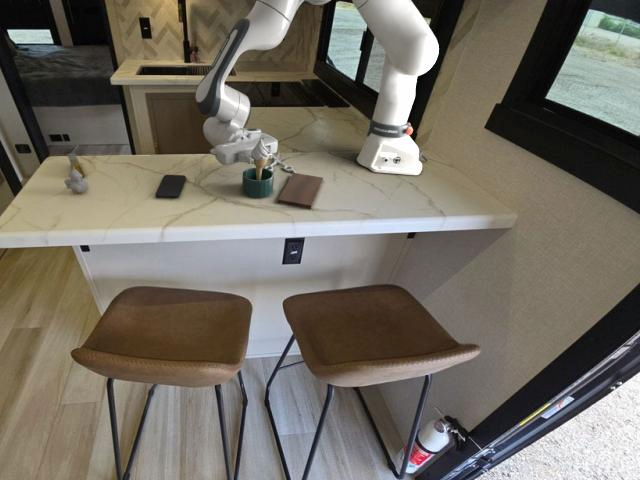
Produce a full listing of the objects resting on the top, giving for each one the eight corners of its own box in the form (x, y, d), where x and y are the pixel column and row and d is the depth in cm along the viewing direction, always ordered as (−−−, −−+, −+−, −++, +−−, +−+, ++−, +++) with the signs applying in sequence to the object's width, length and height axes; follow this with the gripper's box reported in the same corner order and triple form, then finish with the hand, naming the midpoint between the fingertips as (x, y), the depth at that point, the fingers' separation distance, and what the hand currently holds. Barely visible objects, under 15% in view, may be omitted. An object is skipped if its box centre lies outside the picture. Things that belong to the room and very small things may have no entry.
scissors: (265, 171, 115) (260, 149, 129) (265, 174, 115) (260, 151, 129) (296, 171, 115) (288, 149, 129) (296, 174, 116) (288, 151, 130)
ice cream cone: (246, 185, 107) (247, 135, 96) (262, 182, 108) (265, 132, 98) (253, 193, 103) (256, 142, 92) (270, 189, 105) (274, 139, 94)
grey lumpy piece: (87, 196, 102) (78, 170, 96) (65, 196, 102) (55, 170, 96) (92, 187, 106) (84, 162, 100) (70, 187, 106) (61, 162, 100)
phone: (186, 175, 112) (178, 196, 101) (186, 177, 112) (179, 199, 101) (164, 174, 112) (154, 195, 101) (164, 176, 112) (154, 198, 101)
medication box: (71, 165, 118) (66, 153, 115) (79, 163, 118) (74, 151, 116) (76, 178, 110) (71, 166, 107) (85, 175, 111) (80, 163, 108)
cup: (275, 187, 108) (277, 170, 105) (267, 200, 102) (268, 183, 98) (247, 182, 111) (248, 165, 107) (237, 195, 104) (238, 177, 100)
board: (322, 180, 112) (323, 177, 112) (310, 209, 99) (311, 205, 98) (293, 176, 115) (293, 172, 114) (277, 203, 101) (278, 199, 100)
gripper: (206, 139, 100) (231, 155, 92) (262, 127, 108) (289, 141, 100) (207, 160, 105) (231, 177, 97) (261, 147, 113) (287, 162, 105)
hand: (261, 158), depth 99 cm, fingers closed on ice cream cone, 5 cm apart
